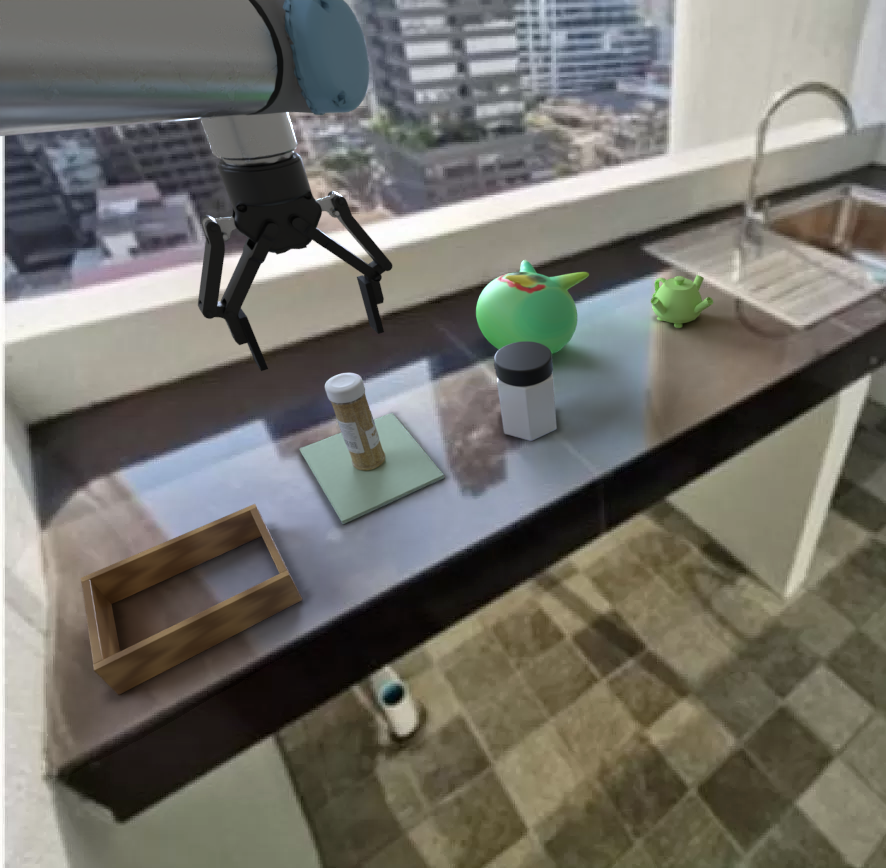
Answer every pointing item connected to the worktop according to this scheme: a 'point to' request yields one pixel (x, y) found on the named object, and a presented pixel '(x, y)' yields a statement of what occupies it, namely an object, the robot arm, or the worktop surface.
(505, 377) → the jar
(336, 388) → the spice bottle
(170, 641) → the wooden tray
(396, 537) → the worktop surface
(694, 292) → the teapot
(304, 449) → the mat
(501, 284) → the toy bird
